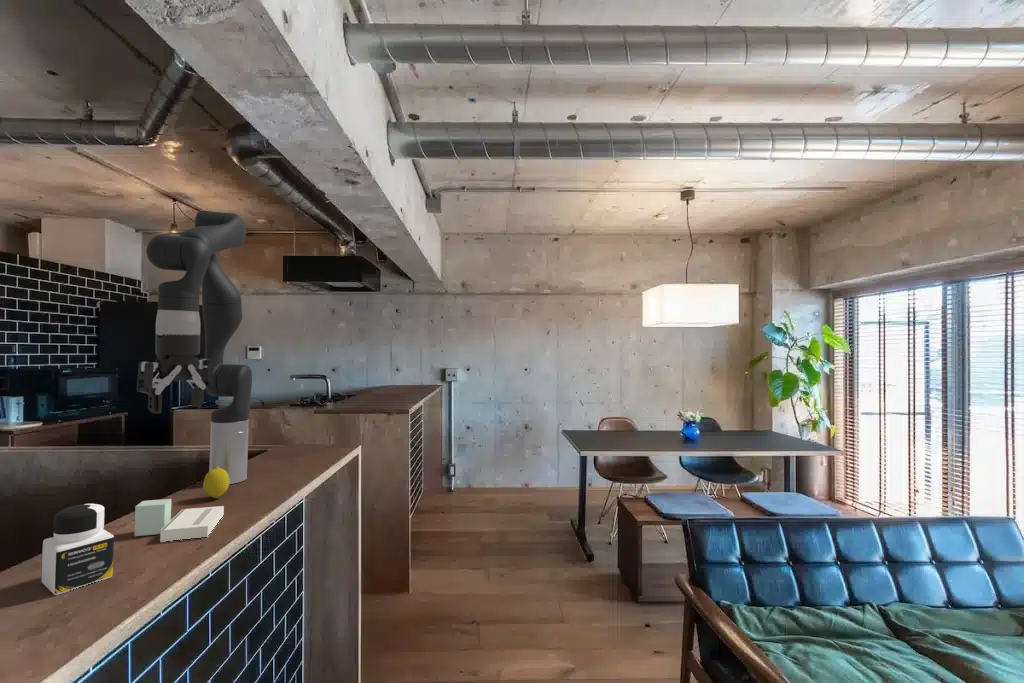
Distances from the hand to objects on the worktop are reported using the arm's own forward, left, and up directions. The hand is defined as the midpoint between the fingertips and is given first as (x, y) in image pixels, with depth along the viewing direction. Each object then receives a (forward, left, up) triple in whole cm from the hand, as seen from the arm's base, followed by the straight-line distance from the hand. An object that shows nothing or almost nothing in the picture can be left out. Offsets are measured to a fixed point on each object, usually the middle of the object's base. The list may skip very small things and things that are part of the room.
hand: (177, 409), depth 95 cm
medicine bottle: (+18, -7, -26) cm, 32 cm away
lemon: (-21, +3, -26) cm, 33 cm away
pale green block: (-1, -4, -25) cm, 25 cm away
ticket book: (-1, +4, -25) cm, 26 cm away
